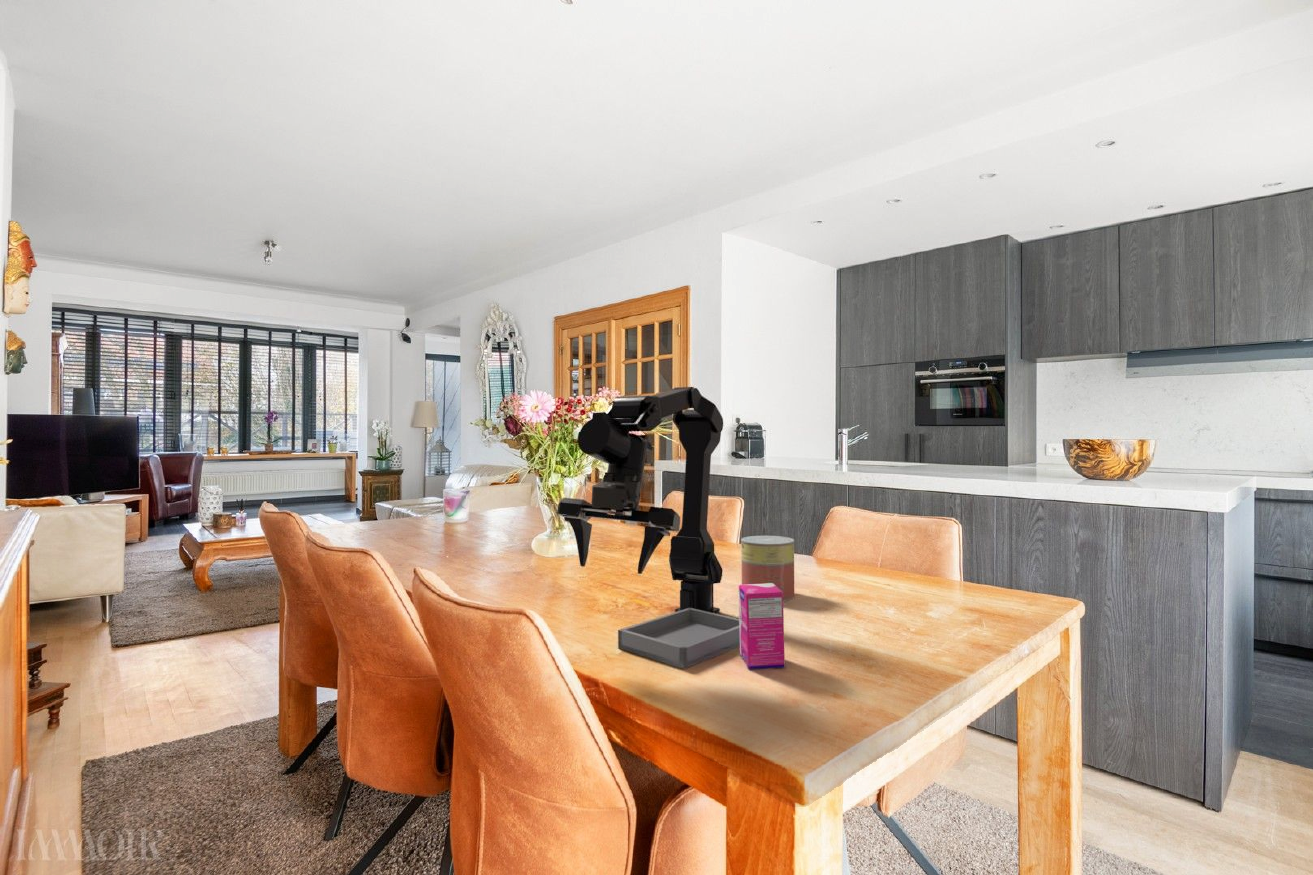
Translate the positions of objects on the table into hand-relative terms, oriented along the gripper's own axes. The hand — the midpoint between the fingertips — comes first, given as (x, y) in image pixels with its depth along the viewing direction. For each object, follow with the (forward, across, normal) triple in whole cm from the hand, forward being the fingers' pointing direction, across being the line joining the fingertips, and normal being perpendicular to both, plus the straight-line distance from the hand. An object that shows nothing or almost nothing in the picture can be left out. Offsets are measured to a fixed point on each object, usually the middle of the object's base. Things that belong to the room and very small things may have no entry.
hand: (610, 570), depth 101 cm
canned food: (-1, +21, +47) cm, 52 cm away
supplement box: (+11, +24, +8) cm, 27 cm away
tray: (+10, +11, +13) cm, 20 cm away
